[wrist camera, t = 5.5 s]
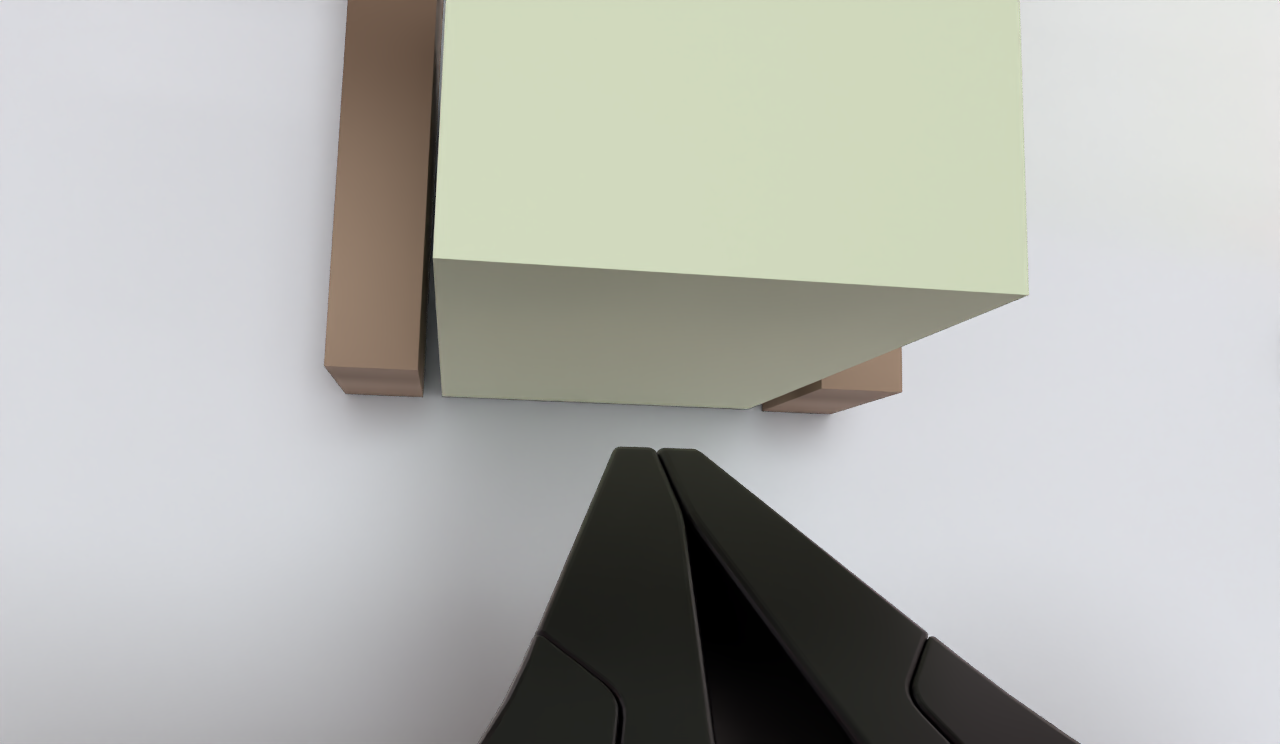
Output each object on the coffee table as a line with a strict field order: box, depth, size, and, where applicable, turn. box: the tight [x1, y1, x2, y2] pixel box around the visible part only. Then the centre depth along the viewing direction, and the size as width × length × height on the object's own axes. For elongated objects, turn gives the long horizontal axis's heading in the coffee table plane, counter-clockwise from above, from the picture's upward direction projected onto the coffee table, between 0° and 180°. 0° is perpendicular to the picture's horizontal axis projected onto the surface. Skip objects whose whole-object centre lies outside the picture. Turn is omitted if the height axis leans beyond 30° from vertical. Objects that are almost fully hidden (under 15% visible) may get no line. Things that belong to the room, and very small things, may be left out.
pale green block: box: [433, 0, 1029, 409], centre depth 14 cm, size 5×5×9 cm
